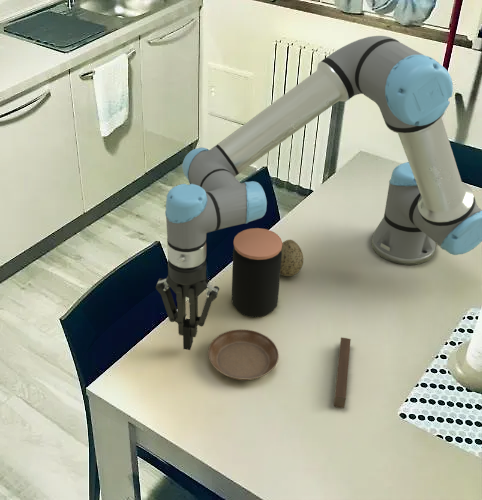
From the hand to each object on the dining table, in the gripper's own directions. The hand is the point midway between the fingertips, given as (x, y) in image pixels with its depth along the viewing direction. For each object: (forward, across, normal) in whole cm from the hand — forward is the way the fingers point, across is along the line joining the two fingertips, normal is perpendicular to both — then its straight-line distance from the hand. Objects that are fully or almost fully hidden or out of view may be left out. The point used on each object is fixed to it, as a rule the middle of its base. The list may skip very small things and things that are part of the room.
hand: (188, 345), depth 155 cm
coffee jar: (+2, +11, +19) cm, 22 cm away
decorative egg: (+2, +17, +32) cm, 36 cm away
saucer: (+2, +12, 0) cm, 12 cm away
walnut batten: (+2, +32, 0) cm, 32 cm away
